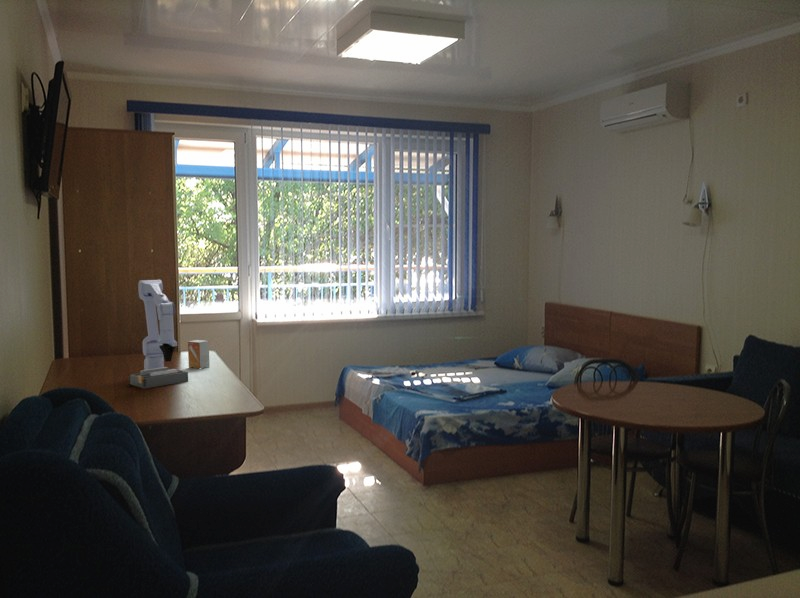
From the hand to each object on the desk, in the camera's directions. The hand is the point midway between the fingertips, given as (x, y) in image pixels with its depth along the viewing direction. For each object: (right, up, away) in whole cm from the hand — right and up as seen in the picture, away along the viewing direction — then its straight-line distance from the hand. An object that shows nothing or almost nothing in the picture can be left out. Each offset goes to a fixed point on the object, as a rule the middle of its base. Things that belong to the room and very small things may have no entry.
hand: (168, 361), depth 294 cm
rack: (-4, -9, 0) cm, 10 cm away
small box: (+2, -7, +38) cm, 38 cm away
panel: (-1, -9, -3) cm, 9 cm away
